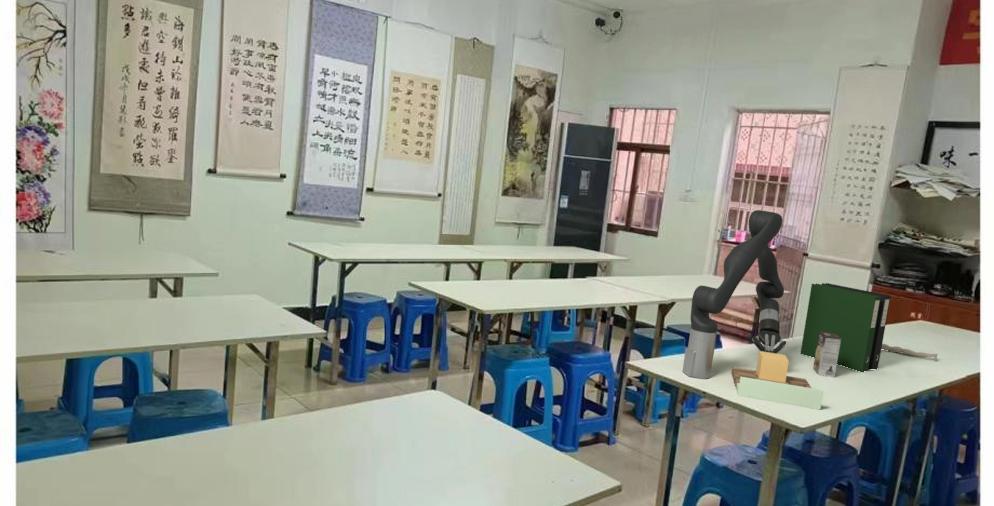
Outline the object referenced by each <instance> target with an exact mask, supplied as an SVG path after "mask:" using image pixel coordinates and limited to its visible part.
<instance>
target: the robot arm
mask: <svg viewBox="0 0 994 506" xmlns="http://www.w3.org/2000/svg"><path fill="white" fill-rule="evenodd" d="M782 226H783V217H782V215H781V214H779V213H777V212H773V211H767V210H761V209H757V210H753V211H752V212H751V214H750V215H749V217H748V229H749V230H748V231H749V233H750V236H751V237H750V238H748V239H747V240H745V241H742V242H741V243H739V244H737V245H735V246H734V247H733V248H732V249H731V250H730V252H729V253H728V254H727V256H726V257H725V259H724V260H723V273H724V274H723V275H724V276H723V277H724V278H723V281H722V282H721V284H720V285H719V286H718V287H711V286H707V285H699V286H696V288H695V290H694V291H693V295H692V299H691V307H690V308H691V309H690V324H691V325H690V333H689V339H688V345H687V346H686V347H685V350H684V358H683V365H682V373H683V374H686V376H688V377H689V378H697V379H701V380H702V379H703V380H705V379H710V378H711V375H712V374H711V373H712V367H713V361H714V355H715V353H714V352H715V346H716V340H717V332H718V324H717V323H716V322H715V321H713V320H712V318H711V317H710V316H709V315H708V314H712V315H718V314H720V313H722V312H723V310H724V309H725V308H726V306H727V304H728V303H729V301H730V300H731V298H732V295H733V294H734V292H735V290H736V289H737V287H738V286H739V284H740V283H741V281H742V280H743V279H744V277H745V275H747V273H748V271H750V269H751V267H752V266H753V265H754V263H755V262H756V260H757V266H758V267H757V268H758V276H759V278H760V279H761V280H762V281H759V282H758V283H756V285H755V293H756V296H757V298H758V301H759V319H758V334H757V335H756V336H755V335H753V336H752V338H751V342H752V343H753V344H754V346H756V348H757V349H758V351H763V352H769V353H775V354H779V352H780V351H781V350H782V349H784V348H785V347H786V346H787V343H788V342H787V341H786V340H783V339H782V337H781V335H780V328H781V327H780V312H779V311H780V304H779V302H778V300H776V299H781V298H782V297H783V295H784V293H785V289H784V285H783V283H782V281H781V279H780V276H779V273H778V262H777V257H776V255H775V253H774V252H773V250H772V249H771V247H770V246H769V244H770V243H771V241H773V240H774V238H775V237H776V236H777V234H779V232H780V230H781V228H782ZM776 345H778V346H776ZM775 346H776V347H775Z"/></svg>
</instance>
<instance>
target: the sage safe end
mask: <svg viewBox="0 0 994 506" xmlns="http://www.w3.org/2000/svg"><path fill="white" fill-rule="evenodd" d="M735 390H736V394H737V396H739V397H744V398H748V399H750V398H751V399H756V400H761V401H766V402H774V403H777V404H783V403H784V405H789V404H792V405H791V406H795V405H797V406H796V407H802V408H807V409H812V408H814V410H818V409H820V410H821V407H822V401H823V395H824V390H822V389H818V388H812V387H811V388H807V387H801V386H795V385H789V384H783V383H777V382H771V381H765V380H759V379H753V378H746V377H740V382H739V383H737V387H736V388H735Z"/></svg>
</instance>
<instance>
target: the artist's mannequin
mask: <svg viewBox="0 0 994 506" xmlns="http://www.w3.org/2000/svg"><path fill="white" fill-rule="evenodd" d="M881 349H884V350H890V351H889V352H891V351H894V352H898V353H897V354H900V353H901V354H902V353H903V354H905V355H907V354H909V355H908V356H912V355H913V356H912V357H919V358H921V357H922V358H934V362H935V361H936V360H937V359H938V353H927V352H915V351H914V350H911V349H908V348H902V347H900V346H890V345H888V344H886V343H882V348H881ZM894 352H893V353H894ZM936 362H937V361H936Z"/></svg>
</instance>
